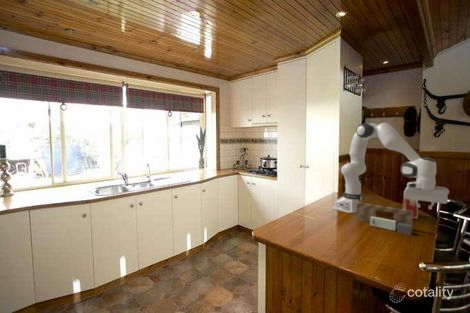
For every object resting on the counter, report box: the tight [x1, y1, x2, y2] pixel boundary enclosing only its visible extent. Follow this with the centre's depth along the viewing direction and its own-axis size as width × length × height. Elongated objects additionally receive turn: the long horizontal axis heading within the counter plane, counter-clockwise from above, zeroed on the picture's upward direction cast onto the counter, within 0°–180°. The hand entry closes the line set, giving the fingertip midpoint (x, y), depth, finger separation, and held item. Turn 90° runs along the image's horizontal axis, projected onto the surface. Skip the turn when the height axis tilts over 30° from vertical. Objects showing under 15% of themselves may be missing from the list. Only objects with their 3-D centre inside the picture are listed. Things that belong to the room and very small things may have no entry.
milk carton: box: [401, 190, 419, 219], centre depth 176 cm, size 9×9×20 cm
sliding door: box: [369, 216, 397, 231], centre depth 155 cm, size 14×4×6 cm, turn 49°
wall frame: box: [355, 202, 414, 229], centre depth 160 cm, size 32×2×12 cm, turn 49°
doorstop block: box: [396, 222, 413, 236], centre depth 147 cm, size 7×5×5 cm
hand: (424, 208), depth 140 cm, fingers open, 4 cm apart
